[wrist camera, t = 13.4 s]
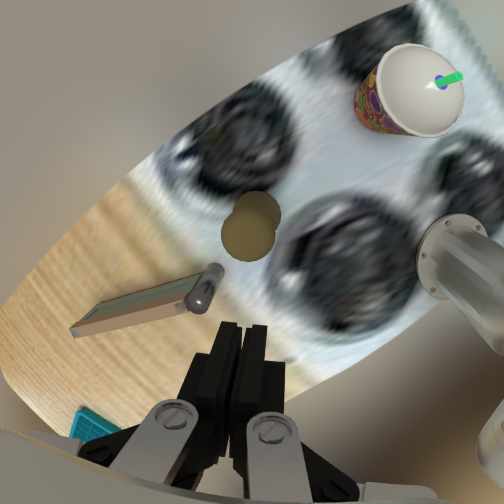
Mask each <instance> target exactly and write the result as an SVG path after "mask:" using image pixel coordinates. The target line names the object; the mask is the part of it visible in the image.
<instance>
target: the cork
mask: <svg viewBox="0 0 504 504" xmlns="http://www.w3.org/2000/svg"><path fill="white" fill-rule="evenodd" d="M280 219H281V211H280V206H279V205H278V203H277V201H276V200H275V199H274V198H273V197H272V196H271V195H269V194H267V193H265V192H262V191H251V192H247V193H245V194H244V195H242V196H241V197H240V198H239V199H238V200H237V201H236V203H235V205H234V208H233V212H232V213H231V214H230V215H229V217H228V218H227V219H226V220H225V221H224V224H223V226H222V230H221V239H222V243H223V246H224V248H225V249H226V251H227V252H228V253H229V254H230V255H231V256H232V257H233V258H235V259H238V260H240V261H245V262H252V261H257V260H259V259H261V258H263V257H264V256H266V255H267V254H268V253H269V252H270V251H271V249H272V247H273V245H274V241H275V230H276V229H277V227H278V225H279V223H280Z"/></svg>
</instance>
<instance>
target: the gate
mask: <svg viewBox="0 0 504 504" xmlns="http://www.w3.org/2000/svg"><path fill="white" fill-rule="evenodd" d="M201 277H202V274H198V275H195V276H191V277H188V278H185V279H181V280H178V281H175V282H171V283H168V284H165V285H161V286H158V287H155V288H151V289H148V290H144V291H141V292H138V293H134V294H131V295H128V296H124V297H121V298H118V299H114V300H111V301H107V302H104V303H101V304H97V305H96V306H95V307H93V308H92V309H91V310H90V311H89V312H88V313H87V314H86V315H85V316H84V317H83V318H82V319H81V320H80V321H78V322H76V323H75V324H74V325H72V326H71V327H70V328H69V330H70V332H71V334H72V335H73V337H74V339H75V338H80V337H84V336H89V335H94V334H98V333H103V332H107V331H112V330H116V329H120V328H125V327H129V326H133V325H138V324H142V323H146V322H150V321H154V320H158V319H163V318H167V317H171V316H175V315H179V314H183V313H187V312H189V311H190V310H189V308H188V307H187V299H188V298H189V296H190V294H191V293H192V291H193V290H194V288H195V286H196V285H197V283H198V282H199V280H200V278H201Z"/></svg>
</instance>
